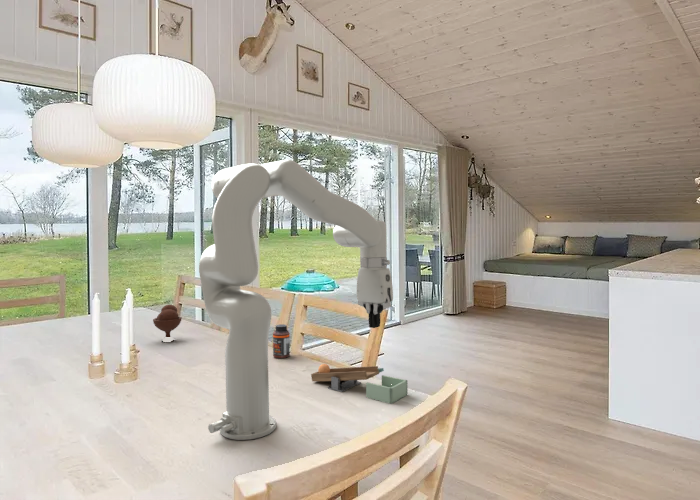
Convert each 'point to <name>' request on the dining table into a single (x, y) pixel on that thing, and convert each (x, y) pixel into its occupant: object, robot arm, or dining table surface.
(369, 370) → the lever
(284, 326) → the supplement bottle
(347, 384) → the fulcrum
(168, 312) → the ice cream bowl
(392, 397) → the tray
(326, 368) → the ball
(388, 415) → the dining table surface
